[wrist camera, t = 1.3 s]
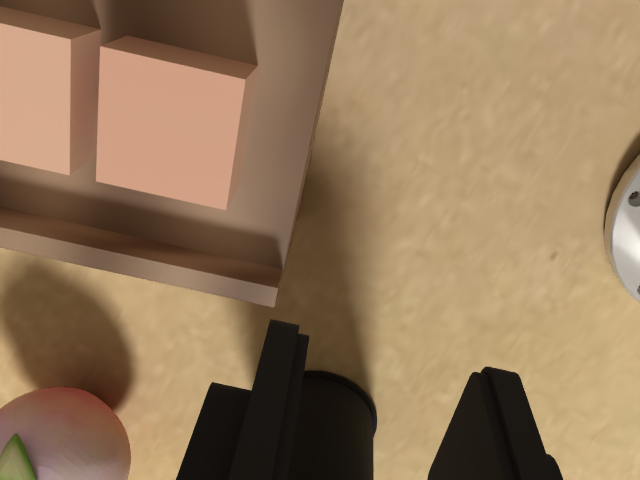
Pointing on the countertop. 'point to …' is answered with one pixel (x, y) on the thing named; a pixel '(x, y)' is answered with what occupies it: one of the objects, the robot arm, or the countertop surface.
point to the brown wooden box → (176, 215)
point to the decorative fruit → (62, 437)
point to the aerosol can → (332, 430)
